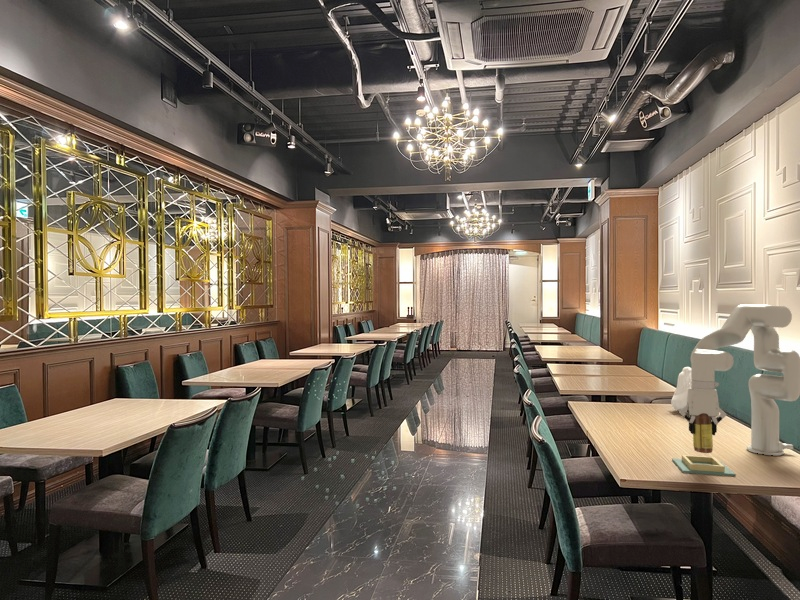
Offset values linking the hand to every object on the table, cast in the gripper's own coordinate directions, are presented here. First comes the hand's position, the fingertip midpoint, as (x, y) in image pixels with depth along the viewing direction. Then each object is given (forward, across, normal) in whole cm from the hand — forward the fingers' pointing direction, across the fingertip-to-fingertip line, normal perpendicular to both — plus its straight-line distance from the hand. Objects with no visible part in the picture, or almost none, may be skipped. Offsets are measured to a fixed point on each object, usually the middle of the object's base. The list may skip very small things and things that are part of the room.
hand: (702, 433), depth 201 cm
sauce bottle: (+7, 0, 0) cm, 7 cm away
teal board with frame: (+13, 0, 0) cm, 13 cm away
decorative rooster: (+13, -22, -101) cm, 104 cm away
